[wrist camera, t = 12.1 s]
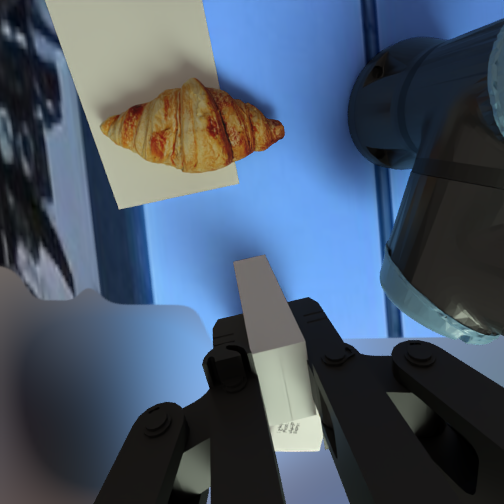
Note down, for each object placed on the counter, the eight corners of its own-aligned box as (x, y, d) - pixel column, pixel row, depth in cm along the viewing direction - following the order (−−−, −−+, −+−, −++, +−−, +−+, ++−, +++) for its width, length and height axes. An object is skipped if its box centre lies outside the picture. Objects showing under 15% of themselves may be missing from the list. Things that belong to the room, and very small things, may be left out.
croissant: (117, 152, 42) (105, 190, 37) (92, 69, 35) (72, 101, 29) (275, 150, 44) (285, 185, 39) (284, 71, 37) (297, 102, 31)
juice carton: (240, 346, 52) (257, 458, 34) (249, 300, 49) (272, 394, 31) (285, 349, 53) (323, 458, 35) (296, 304, 50) (344, 397, 32)
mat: (193, -42, 34) (193, -43, 33) (239, 183, 42) (239, 183, 42) (40, -16, 33) (39, -16, 33) (119, 209, 42) (119, 209, 41)
